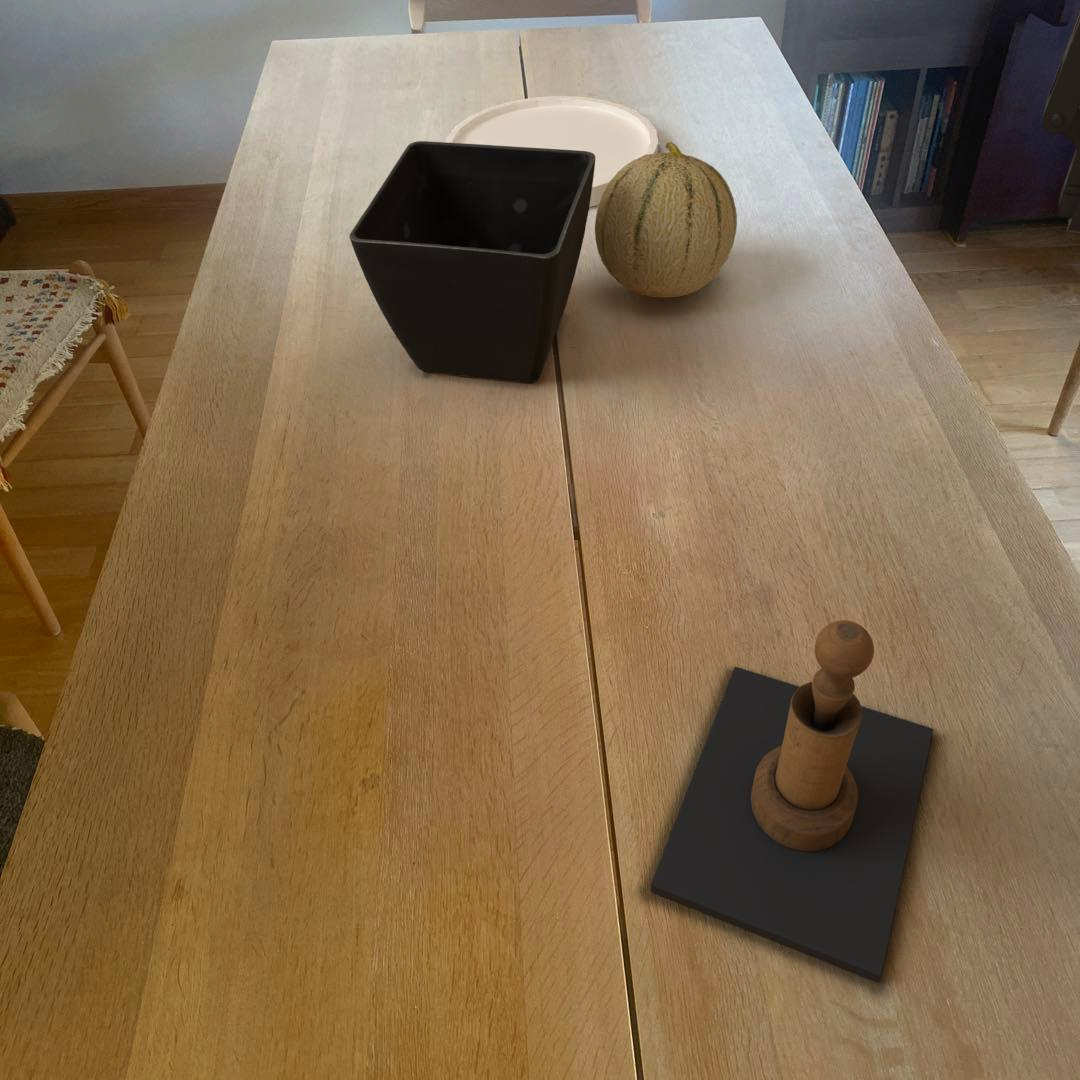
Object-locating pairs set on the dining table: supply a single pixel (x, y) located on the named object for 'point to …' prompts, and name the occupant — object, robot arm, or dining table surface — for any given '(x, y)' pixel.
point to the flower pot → (476, 253)
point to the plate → (565, 131)
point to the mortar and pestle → (816, 749)
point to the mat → (787, 874)
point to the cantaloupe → (665, 224)
